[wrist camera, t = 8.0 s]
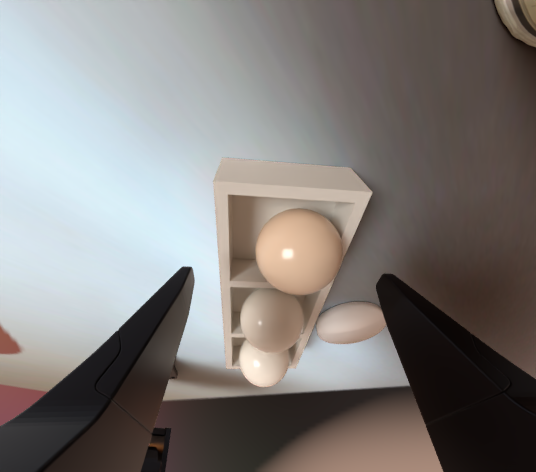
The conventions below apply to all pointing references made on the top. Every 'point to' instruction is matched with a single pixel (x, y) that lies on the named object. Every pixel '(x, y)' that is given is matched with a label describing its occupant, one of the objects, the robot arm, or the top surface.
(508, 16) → the coffee can
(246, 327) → the cream egg
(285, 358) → the cream egg
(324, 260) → the brown egg
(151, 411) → the robot arm
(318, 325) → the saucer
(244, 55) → the top surface
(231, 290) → the carton
